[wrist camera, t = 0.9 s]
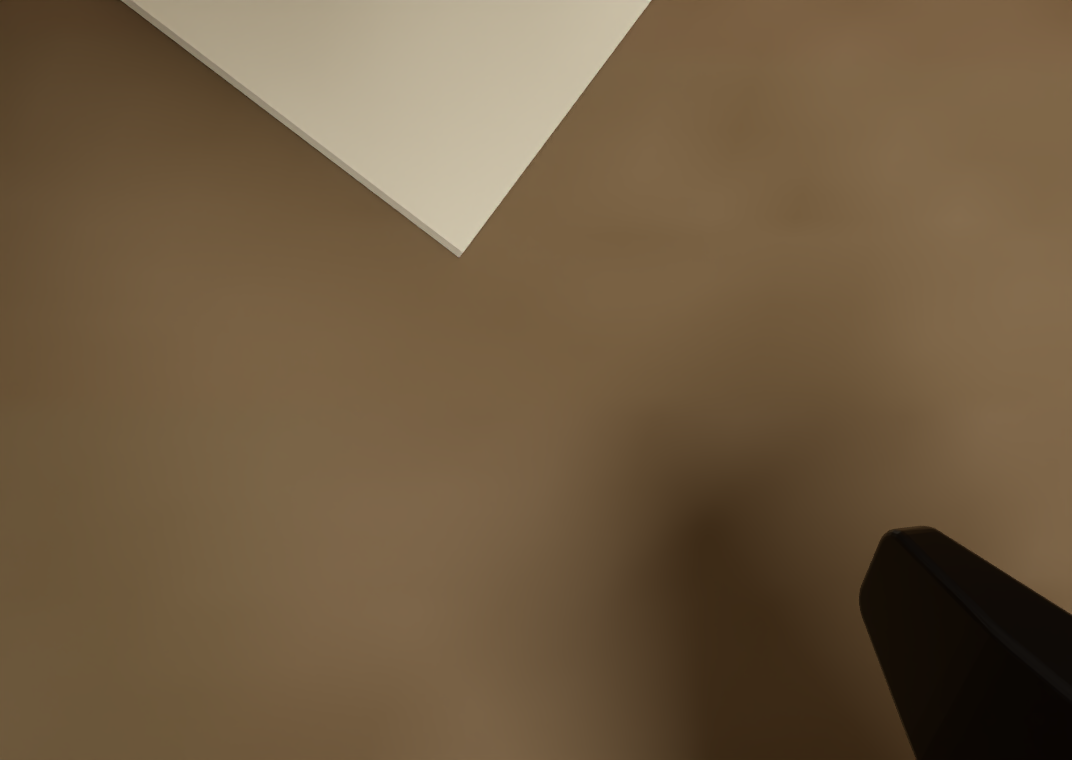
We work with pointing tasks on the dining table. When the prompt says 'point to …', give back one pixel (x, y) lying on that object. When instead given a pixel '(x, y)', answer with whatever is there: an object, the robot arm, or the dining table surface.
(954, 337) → the dining table surface
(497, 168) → the mat
